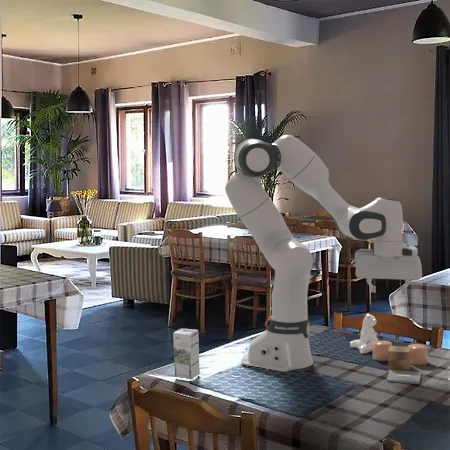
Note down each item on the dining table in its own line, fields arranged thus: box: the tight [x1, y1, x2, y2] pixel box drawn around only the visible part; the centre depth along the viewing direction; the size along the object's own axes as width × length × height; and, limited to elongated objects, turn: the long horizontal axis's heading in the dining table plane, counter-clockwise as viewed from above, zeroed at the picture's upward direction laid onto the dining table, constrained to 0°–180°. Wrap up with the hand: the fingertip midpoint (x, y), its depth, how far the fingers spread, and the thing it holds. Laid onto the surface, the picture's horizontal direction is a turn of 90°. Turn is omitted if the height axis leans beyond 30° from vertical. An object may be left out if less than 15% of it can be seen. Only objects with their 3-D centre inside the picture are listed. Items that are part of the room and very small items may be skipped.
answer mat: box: [386, 370, 422, 385], centre depth 196 cm, size 9×9×1 cm
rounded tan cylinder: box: [372, 339, 393, 362], centre depth 216 cm, size 6×6×5 cm
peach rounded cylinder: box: [407, 343, 429, 366], centre depth 210 cm, size 6×6×5 cm
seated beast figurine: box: [349, 313, 379, 355], centre depth 226 cm, size 10×9×12 cm
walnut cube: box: [387, 345, 411, 371], centre depth 205 cm, size 6×6×6 cm
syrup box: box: [172, 328, 201, 379], centre depth 200 cm, size 6×6×14 cm
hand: (388, 292), depth 213 cm, fingers open, 8 cm apart
